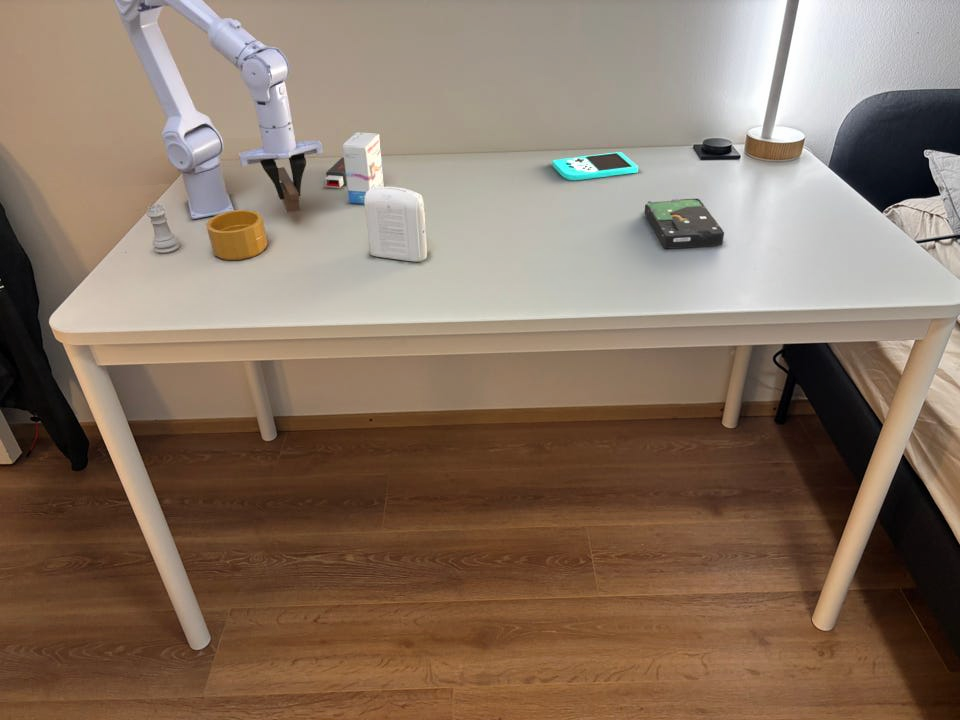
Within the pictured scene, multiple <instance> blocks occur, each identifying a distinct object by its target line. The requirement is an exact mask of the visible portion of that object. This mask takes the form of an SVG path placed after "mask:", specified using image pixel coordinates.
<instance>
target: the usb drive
mask: <svg viewBox="0 0 960 720" xmlns="http://www.w3.org/2000/svg"><path fill="white" fill-rule="evenodd" d="M325 176H326V177H325V178H324V187H325V188H335V189H336V188H337V189H341V188H342V187H343V186H347V179H346V172H345V164H344V157H341V158H339V159H338V161H336V162H335V163H334V164H333V165H332V166H331V167H330V168H329V169H328V170H327V171H326V172H325Z"/></svg>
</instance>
